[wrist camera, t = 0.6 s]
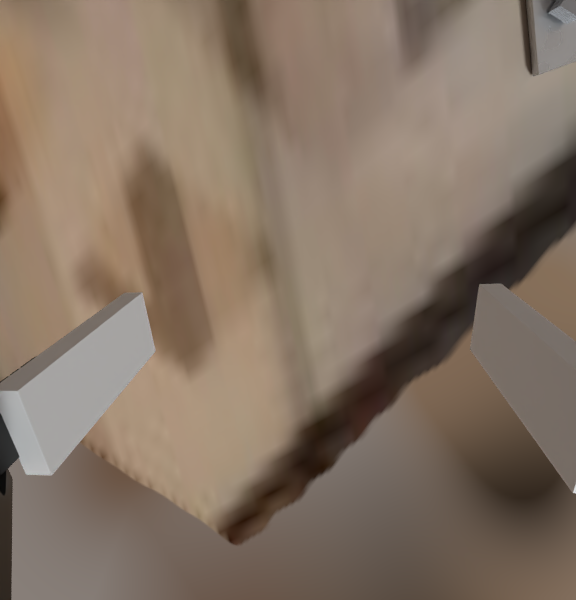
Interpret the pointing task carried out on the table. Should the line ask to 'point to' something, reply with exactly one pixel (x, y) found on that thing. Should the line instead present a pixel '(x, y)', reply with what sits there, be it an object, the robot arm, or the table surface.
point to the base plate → (549, 37)
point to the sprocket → (564, 10)
